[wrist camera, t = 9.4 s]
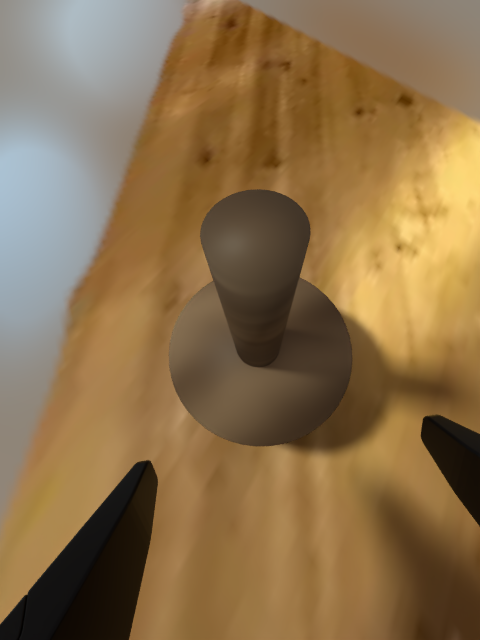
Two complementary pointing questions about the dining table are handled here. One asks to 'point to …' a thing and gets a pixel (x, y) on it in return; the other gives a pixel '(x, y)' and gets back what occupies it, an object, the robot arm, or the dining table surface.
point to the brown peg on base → (259, 328)
